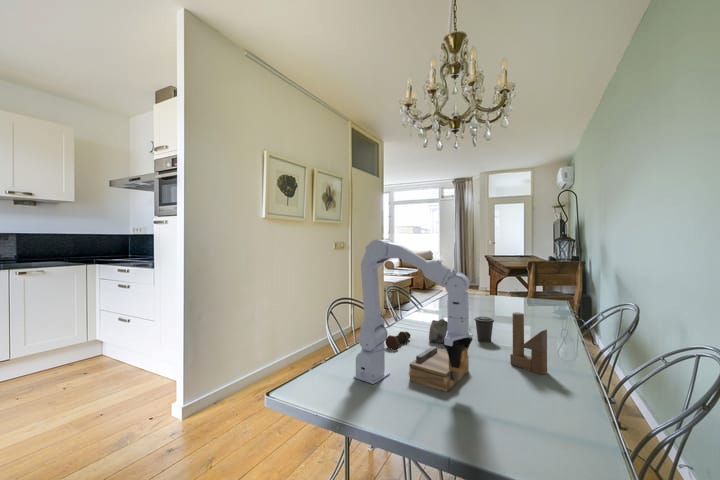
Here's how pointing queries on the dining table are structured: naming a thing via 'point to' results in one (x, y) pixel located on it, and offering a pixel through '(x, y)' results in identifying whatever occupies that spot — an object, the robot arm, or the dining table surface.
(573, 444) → the dining table surface
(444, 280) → the robot arm
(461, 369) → the brown block
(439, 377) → the brown wooden open box
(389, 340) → the bolt
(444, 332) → the mineral rock
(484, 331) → the coffee cup
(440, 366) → the lid
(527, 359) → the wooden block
